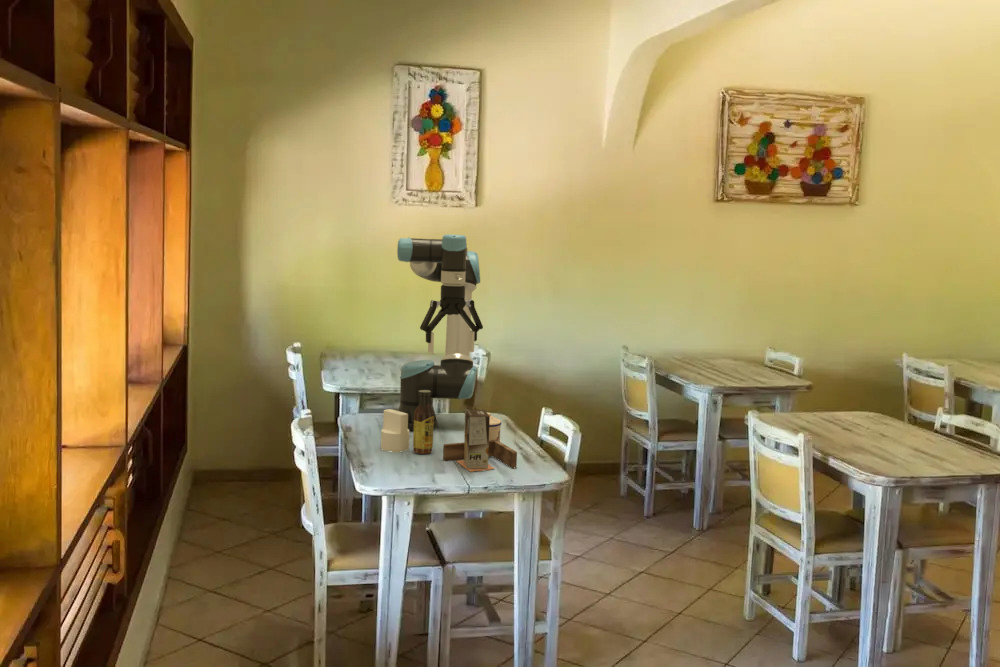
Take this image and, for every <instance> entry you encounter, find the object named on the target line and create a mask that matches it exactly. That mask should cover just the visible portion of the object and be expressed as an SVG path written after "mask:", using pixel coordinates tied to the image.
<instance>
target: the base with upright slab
mask: <svg viewBox="0 0 1000 667" xmlns="http://www.w3.org/2000/svg"><path fill="white" fill-rule="evenodd" d="M382 423H383V425H382V426H383V427H382V429H381V432H380V435H381V436H380V445H381V446H380V449H381V450H382V449H383V450H385V451H384V452H387V451H392V452H391V453H401V452H400V451H403V452H406V451H405V450H407V451H409V450H410V431H409V429H408V414H407V413H403V412H400V411H398V410H395V409H392V408H388V409H384V410H383V422H382ZM383 450H382V451H383Z"/></svg>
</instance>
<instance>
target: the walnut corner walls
mask: <svg viewBox="0 0 1000 667" xmlns="http://www.w3.org/2000/svg"><path fill="white" fill-rule="evenodd" d="M442 447H443V452H442V453H443V454H442V456H443V457H442V460H443V461H444V460H445V461H444V462H449V461H448V460H451V461H459V460H460V459H462V460H464V441H463V442H453V443H443V446H442ZM489 456H494V457H493V458H495V457H496V458H495V459H497V460H498V459H499V460H498V461H500V460H501V461H502V462H501V461H500V462H501V463H503V462H504V463H505V464H504V463H503V464H504V465H506V464H507V465H508V466H507V465H506V466H507V467H509V466H510V467H512V468H511V469H515V468H514V467H516V468H517V464H518V463H517V461H518V459H517V456H518V451H516V450H514V449H513V448H511V447H510V446H508V445H506V444H504V443H503V442H501V440H500V441H498V440H489V451H488V458H490V457H489ZM510 467H509V468H510Z"/></svg>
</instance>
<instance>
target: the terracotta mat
mask: <svg viewBox="0 0 1000 667" xmlns="http://www.w3.org/2000/svg"><path fill="white" fill-rule="evenodd" d="M455 461H456V463H457V464H458V463H459V464H458V465H460V466H461V467H462V466H463V469H465V468H466V469H465V470H466V471H468V472H469V471H470V472H469V473H475V472H474V471H477V472H484V471H483V470H487V471H492V470H491V469H495V470H496V468H495V467H494V466H492V465H490V464H489V463H488V468H474V469H468V467H467V466H466V464H465V462H464V459H462V460H455Z"/></svg>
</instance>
